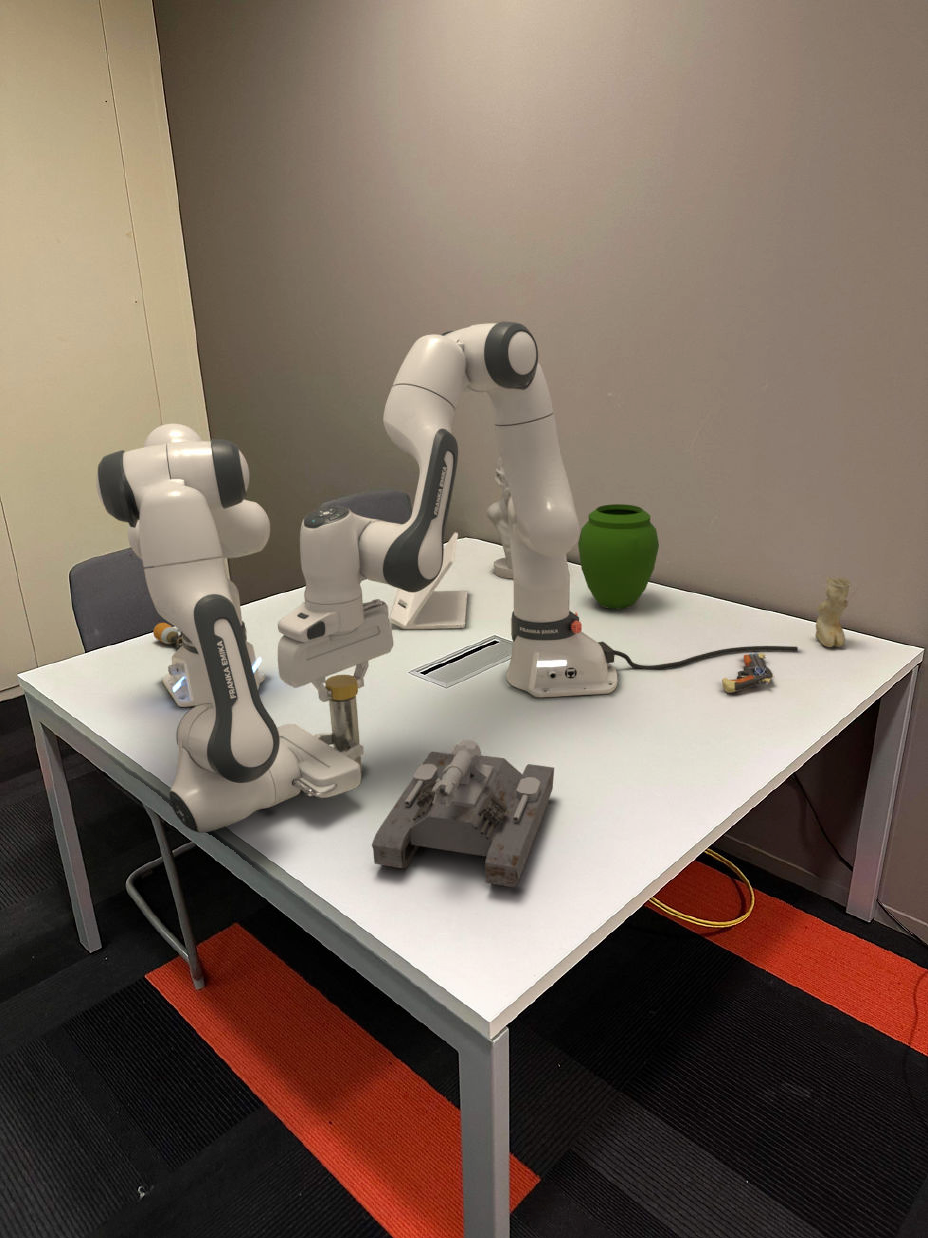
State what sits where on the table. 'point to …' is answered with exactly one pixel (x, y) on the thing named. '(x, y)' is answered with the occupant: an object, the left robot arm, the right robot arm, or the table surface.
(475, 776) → the toy
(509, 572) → the bust sculpture
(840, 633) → the sculpture
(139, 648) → the table surface
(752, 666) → the toy gun
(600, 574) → the vase
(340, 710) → the thermos bottle
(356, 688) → the lid
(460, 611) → the tablet stand
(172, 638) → the spray gun
